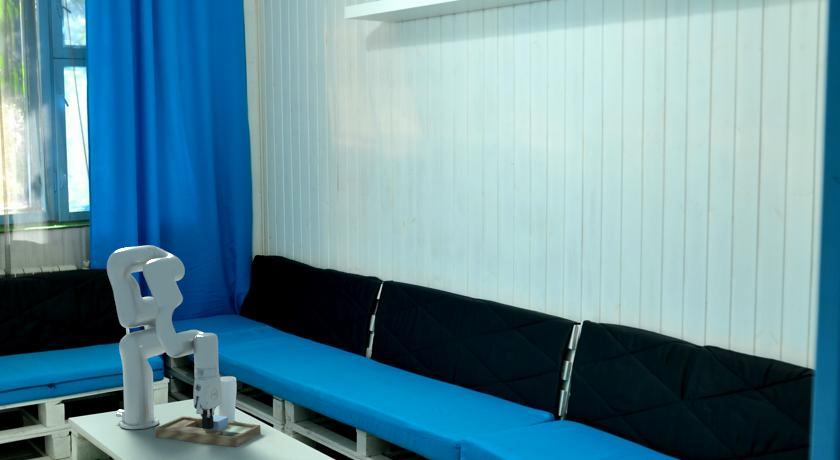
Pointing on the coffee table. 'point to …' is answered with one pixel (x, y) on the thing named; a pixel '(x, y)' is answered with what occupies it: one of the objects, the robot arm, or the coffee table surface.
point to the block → (219, 422)
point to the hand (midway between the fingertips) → (207, 428)
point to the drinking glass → (228, 398)
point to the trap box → (207, 432)
